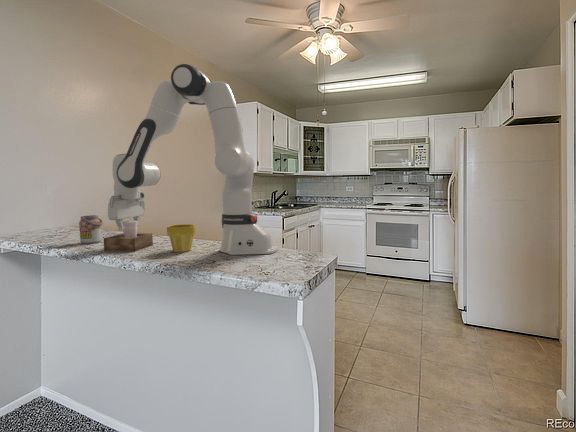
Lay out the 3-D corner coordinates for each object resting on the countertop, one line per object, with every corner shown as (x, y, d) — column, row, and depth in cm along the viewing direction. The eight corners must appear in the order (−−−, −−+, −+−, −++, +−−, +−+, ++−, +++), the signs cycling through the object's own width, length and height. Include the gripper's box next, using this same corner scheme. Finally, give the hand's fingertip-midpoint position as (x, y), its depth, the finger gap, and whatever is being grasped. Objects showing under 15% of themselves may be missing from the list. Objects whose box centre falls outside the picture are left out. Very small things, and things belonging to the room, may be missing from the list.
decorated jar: (108, 241, 150) (106, 215, 148) (95, 244, 141) (93, 217, 140) (89, 240, 151) (87, 215, 149) (75, 244, 142) (73, 217, 141)
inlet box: (152, 244, 139) (152, 233, 139) (135, 251, 126) (134, 238, 126) (124, 244, 140) (123, 233, 140) (104, 250, 128) (103, 238, 127)
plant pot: (179, 247, 134) (178, 223, 133) (201, 248, 131) (200, 224, 130) (162, 252, 124) (161, 226, 123) (185, 253, 121) (184, 227, 120)
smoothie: (133, 246, 130) (130, 211, 129) (119, 246, 132) (116, 211, 130) (143, 243, 137) (140, 210, 135) (129, 243, 138) (126, 210, 136)
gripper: (117, 195, 120) (120, 232, 122) (147, 193, 141) (149, 225, 142) (101, 195, 121) (104, 232, 123) (133, 193, 141) (135, 225, 143)
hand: (128, 228), depth 133 cm, fingers open, 8 cm apart
